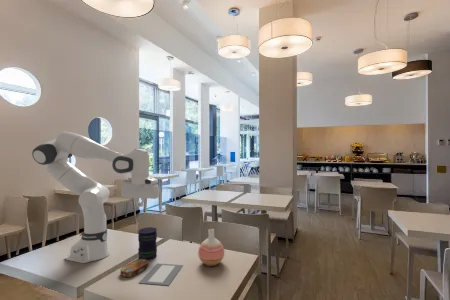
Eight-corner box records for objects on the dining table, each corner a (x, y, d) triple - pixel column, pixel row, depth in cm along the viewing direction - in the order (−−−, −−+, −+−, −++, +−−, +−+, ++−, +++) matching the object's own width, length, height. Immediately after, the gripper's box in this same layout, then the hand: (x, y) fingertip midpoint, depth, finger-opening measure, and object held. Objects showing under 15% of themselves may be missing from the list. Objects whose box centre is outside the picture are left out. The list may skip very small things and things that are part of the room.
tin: (129, 273, 112) (116, 268, 115) (129, 280, 112) (116, 275, 115) (152, 260, 125) (140, 256, 129) (151, 266, 125) (139, 262, 129)
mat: (138, 283, 108) (138, 282, 108) (157, 263, 127) (157, 263, 127) (168, 285, 106) (168, 285, 106) (182, 265, 125) (182, 265, 125)
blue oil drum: (156, 252, 142) (156, 226, 142) (157, 259, 133) (157, 231, 133) (138, 254, 139) (138, 228, 139) (137, 261, 130) (137, 233, 130)
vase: (229, 261, 130) (228, 228, 130) (216, 272, 118) (215, 235, 118) (207, 256, 136) (207, 224, 137) (193, 266, 124) (192, 231, 125)
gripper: (118, 180, 126) (118, 206, 126) (155, 181, 123) (155, 208, 123) (125, 178, 132) (125, 204, 132) (160, 179, 129) (160, 206, 129)
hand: (139, 206), depth 127 cm, fingers closed
